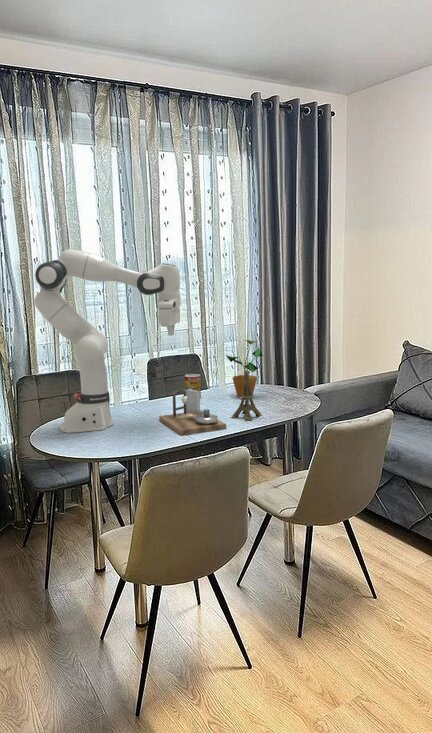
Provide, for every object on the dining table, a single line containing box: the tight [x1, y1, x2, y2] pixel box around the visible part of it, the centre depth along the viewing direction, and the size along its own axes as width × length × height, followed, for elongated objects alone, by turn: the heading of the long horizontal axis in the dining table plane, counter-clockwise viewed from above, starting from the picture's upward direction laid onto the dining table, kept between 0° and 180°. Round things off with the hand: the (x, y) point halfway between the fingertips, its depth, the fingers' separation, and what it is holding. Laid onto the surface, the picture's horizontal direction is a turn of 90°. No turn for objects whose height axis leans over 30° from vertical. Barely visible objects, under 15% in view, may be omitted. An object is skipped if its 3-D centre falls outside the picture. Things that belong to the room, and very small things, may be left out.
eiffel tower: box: [230, 367, 263, 422], centre depth 249 cm, size 11×11×25 cm
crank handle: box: [181, 389, 219, 425], centre depth 239 cm, size 20×9×12 cm, turn 42°
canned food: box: [184, 373, 202, 400], centre depth 286 cm, size 8×8×12 cm
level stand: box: [158, 388, 227, 436], centre depth 240 cm, size 20×25×13 cm
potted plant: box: [225, 339, 264, 398], centre depth 287 cm, size 18×19×30 cm
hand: (171, 335), depth 242 cm, fingers closed
